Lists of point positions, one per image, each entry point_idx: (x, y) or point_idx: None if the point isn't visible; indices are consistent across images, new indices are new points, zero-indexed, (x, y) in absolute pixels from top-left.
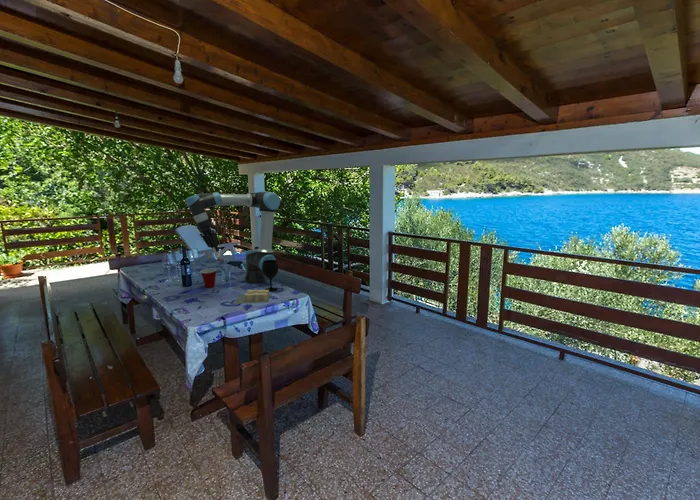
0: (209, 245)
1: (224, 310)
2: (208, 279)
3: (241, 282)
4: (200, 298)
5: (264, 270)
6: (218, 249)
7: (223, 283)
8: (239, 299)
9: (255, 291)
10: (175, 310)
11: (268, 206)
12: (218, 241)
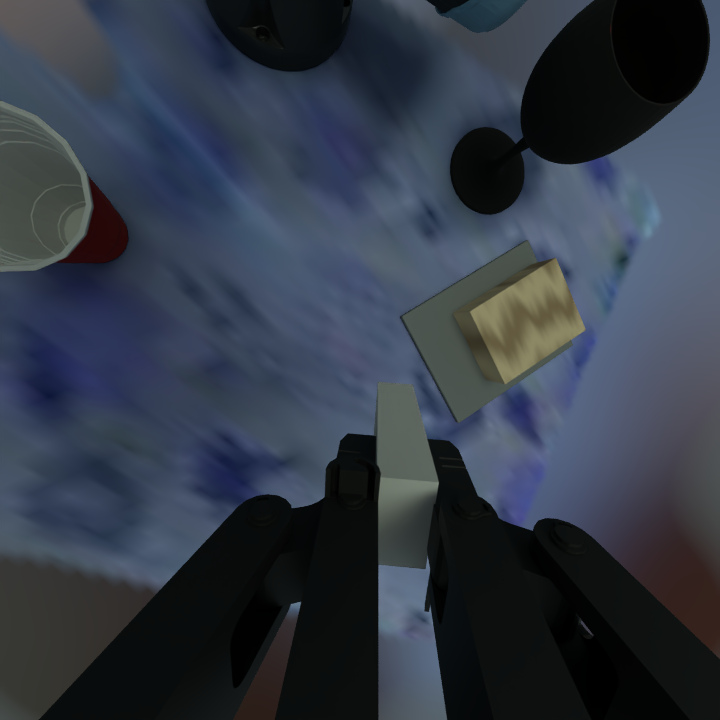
0: (279, 608)
1: None
2: (92, 253)
3: (222, 68)
4: (247, 431)
5: (581, 154)
6: (461, 467)
7: (119, 130)
8: (446, 367)
9: (515, 312)
10: None
11: None
12: (656, 605)
